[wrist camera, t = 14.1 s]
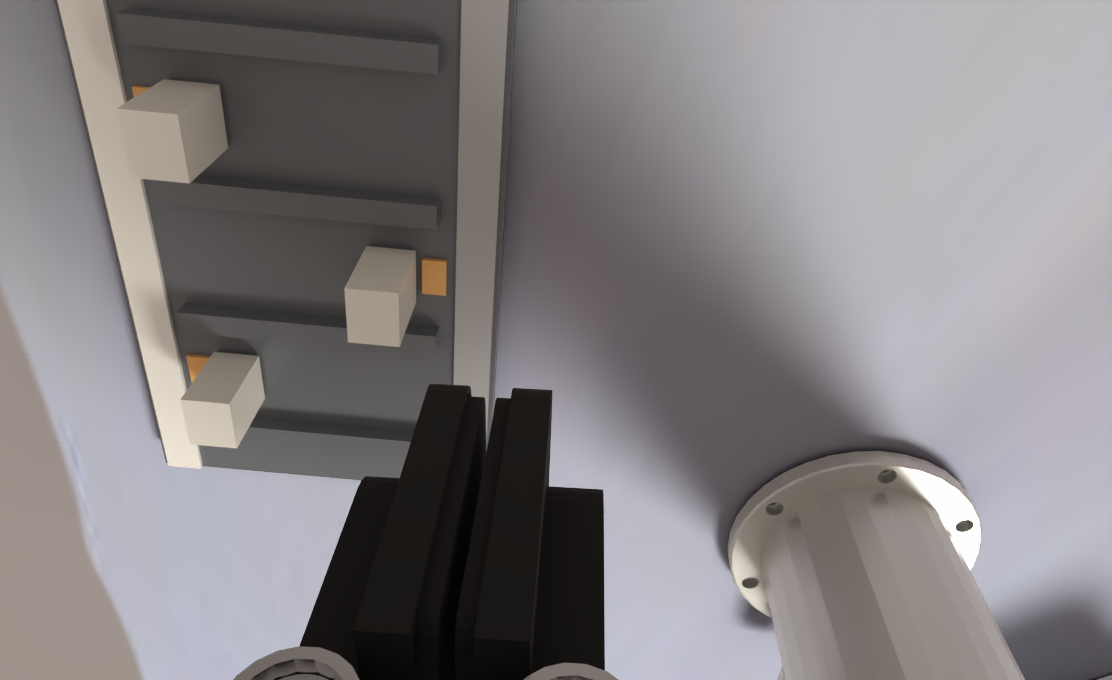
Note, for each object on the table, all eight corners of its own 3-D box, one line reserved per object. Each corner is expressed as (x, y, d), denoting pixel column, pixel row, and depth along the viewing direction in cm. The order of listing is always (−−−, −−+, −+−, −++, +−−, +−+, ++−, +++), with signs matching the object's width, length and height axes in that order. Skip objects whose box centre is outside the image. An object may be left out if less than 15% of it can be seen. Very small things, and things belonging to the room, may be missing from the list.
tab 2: (265, 398, 37) (236, 448, 34) (221, 394, 37) (189, 444, 34) (259, 355, 36) (229, 403, 33) (214, 351, 36) (180, 399, 33)
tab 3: (416, 301, 34) (399, 347, 31) (368, 296, 34) (348, 342, 31) (415, 250, 32) (398, 293, 30) (366, 245, 32) (344, 288, 30)
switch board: (489, 477, 41) (486, 502, 39) (175, 449, 41) (158, 473, 39) (518, -35, 28) (514, -27, 26) (52, -83, 27) (21, -77, 26)
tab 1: (228, 148, 30) (189, 183, 27) (175, 143, 30) (131, 177, 27) (219, 84, 29) (177, 114, 26) (164, 79, 29) (116, 108, 26)
